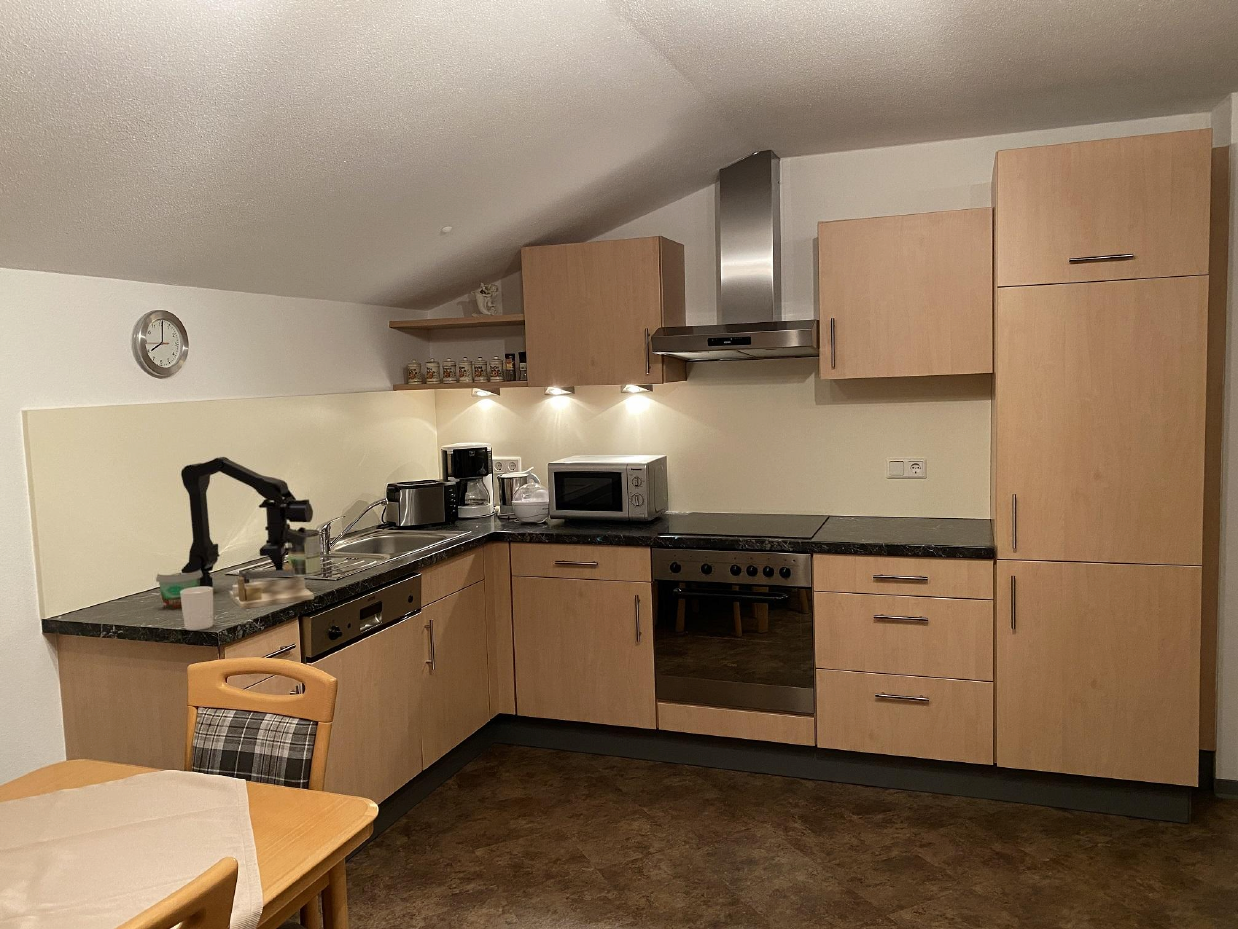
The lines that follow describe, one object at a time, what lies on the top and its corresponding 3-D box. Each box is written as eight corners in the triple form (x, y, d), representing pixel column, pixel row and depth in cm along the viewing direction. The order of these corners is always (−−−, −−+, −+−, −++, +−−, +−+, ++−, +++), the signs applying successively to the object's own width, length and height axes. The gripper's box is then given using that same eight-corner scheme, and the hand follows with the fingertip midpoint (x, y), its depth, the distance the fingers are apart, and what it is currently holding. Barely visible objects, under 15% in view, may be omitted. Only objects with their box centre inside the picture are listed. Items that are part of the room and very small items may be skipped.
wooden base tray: (241, 609, 269) (239, 581, 268) (229, 596, 286) (227, 570, 285) (313, 599, 279) (312, 572, 278) (297, 587, 296) (296, 561, 295)
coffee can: (289, 578, 310) (287, 535, 309) (288, 572, 320) (286, 531, 319) (322, 575, 314) (320, 532, 313) (320, 569, 324) (318, 528, 322)
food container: (157, 612, 268) (154, 577, 267) (158, 607, 274) (155, 573, 273) (204, 606, 273) (202, 572, 272) (204, 602, 279) (202, 568, 278)
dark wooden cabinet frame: (238, 580, 282) (237, 568, 282) (239, 578, 285) (239, 566, 285) (293, 576, 286) (293, 564, 286) (294, 574, 289) (293, 562, 289)
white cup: (197, 622, 255) (194, 586, 254) (222, 624, 253) (219, 587, 252) (175, 630, 248) (173, 592, 247) (201, 631, 245) (198, 593, 244)
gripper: (296, 527, 278) (299, 579, 280) (311, 515, 296) (314, 564, 299) (257, 528, 277) (260, 580, 279) (275, 516, 296) (277, 565, 298)
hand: (280, 572), depth 289 cm, fingers closed
